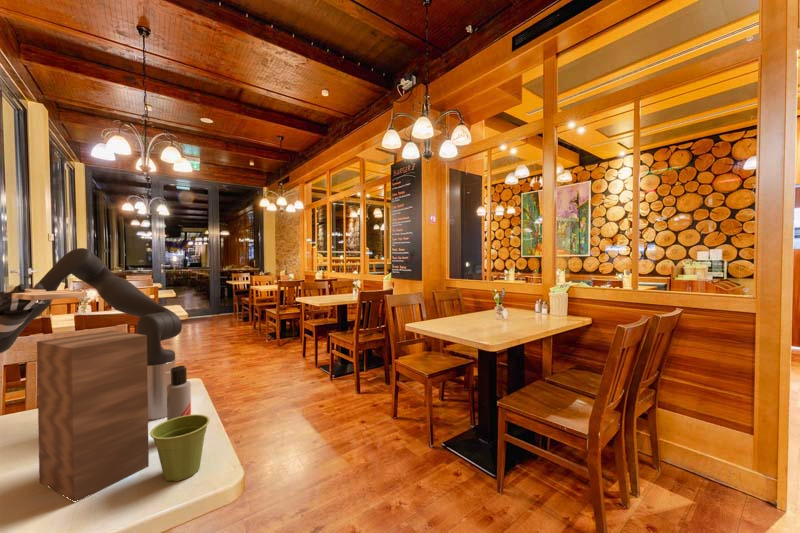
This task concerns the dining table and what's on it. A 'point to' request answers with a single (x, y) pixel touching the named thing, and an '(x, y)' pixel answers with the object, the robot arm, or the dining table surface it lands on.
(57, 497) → the dining table surface
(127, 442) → the walnut plinth
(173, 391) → the lotion bottle
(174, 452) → the plant pot
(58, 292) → the tan stepped slab
